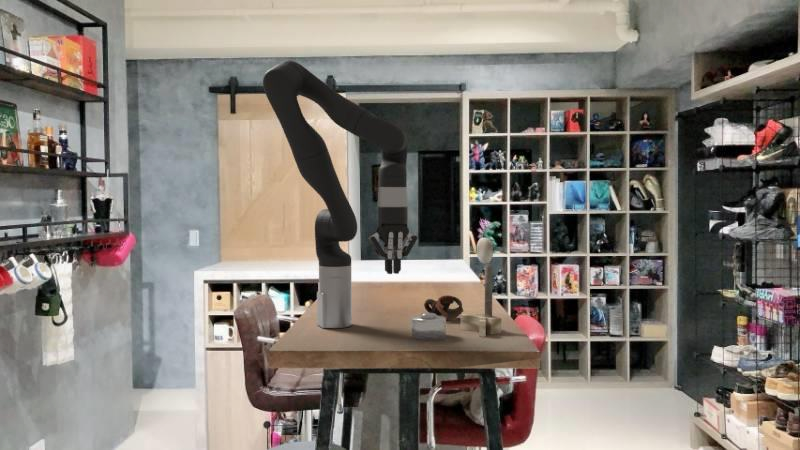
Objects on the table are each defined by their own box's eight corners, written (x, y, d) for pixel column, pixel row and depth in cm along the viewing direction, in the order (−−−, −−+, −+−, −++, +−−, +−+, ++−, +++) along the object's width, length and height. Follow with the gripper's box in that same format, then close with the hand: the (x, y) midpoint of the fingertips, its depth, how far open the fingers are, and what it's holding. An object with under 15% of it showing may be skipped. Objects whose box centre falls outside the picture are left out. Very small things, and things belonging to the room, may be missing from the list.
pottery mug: (462, 318, 196) (467, 297, 192) (456, 337, 188) (461, 316, 184) (425, 307, 198) (429, 286, 194) (417, 325, 190) (421, 304, 186)
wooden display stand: (480, 336, 166) (481, 239, 165) (459, 328, 177) (459, 236, 177) (505, 334, 169) (505, 238, 168) (482, 326, 180) (482, 236, 179)
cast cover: (420, 342, 161) (420, 318, 161) (406, 335, 170) (406, 312, 169) (451, 339, 165) (451, 315, 165) (436, 332, 173) (436, 310, 173)
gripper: (372, 205, 156) (373, 276, 157) (423, 205, 161) (423, 273, 162) (362, 205, 163) (362, 273, 164) (411, 205, 168) (411, 271, 169)
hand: (393, 273), depth 163 cm, fingers closed
